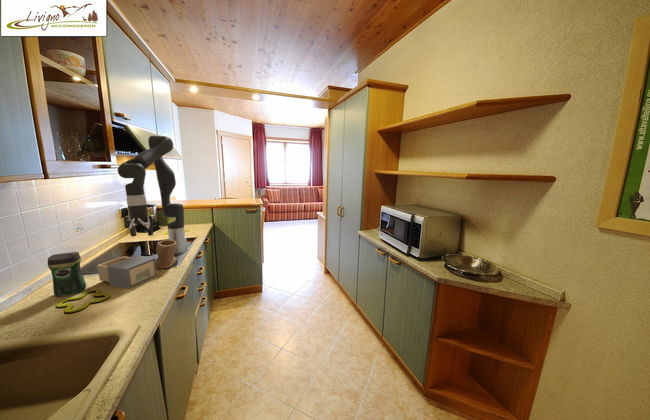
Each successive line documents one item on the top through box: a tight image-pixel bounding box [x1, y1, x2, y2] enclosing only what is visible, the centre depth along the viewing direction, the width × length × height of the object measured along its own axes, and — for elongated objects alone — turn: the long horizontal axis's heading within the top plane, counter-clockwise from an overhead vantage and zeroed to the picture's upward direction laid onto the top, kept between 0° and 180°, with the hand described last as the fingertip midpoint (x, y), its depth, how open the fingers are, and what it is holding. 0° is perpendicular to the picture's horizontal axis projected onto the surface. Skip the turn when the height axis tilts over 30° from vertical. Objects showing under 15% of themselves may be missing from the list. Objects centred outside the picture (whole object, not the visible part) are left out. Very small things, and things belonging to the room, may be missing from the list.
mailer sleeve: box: [107, 255, 158, 290], centre depth 115 cm, size 14×12×10 cm
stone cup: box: [155, 239, 178, 270], centre depth 133 cm, size 15×12×15 cm
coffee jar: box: [47, 251, 87, 298], centre depth 102 cm, size 10×8×19 cm
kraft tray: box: [96, 256, 155, 286], centre depth 116 cm, size 12×20×8 cm, turn 77°
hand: (142, 235), depth 116 cm, fingers open, 8 cm apart
